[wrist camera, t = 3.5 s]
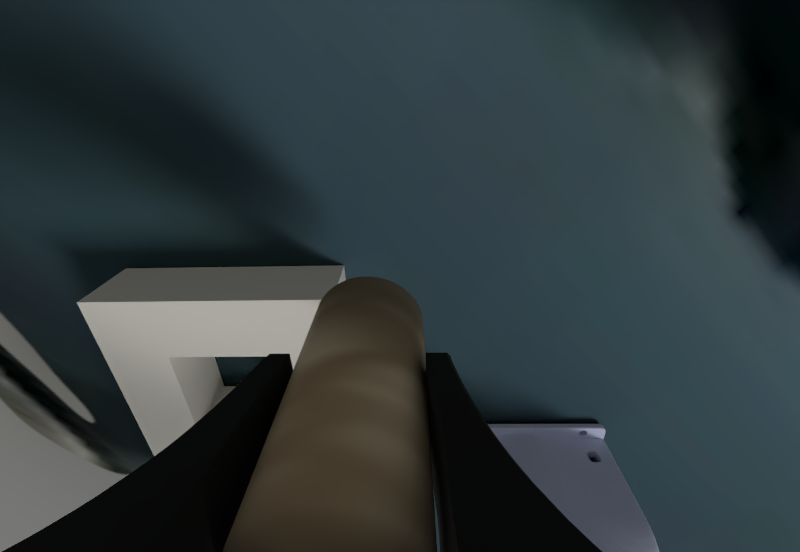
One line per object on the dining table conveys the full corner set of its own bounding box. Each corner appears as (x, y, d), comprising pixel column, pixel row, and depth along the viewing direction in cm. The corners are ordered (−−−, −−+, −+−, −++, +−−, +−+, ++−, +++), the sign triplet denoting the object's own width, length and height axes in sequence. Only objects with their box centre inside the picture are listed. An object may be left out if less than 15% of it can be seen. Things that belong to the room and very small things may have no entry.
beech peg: (421, 274, 13) (438, 506, 6) (423, 364, 15) (438, 620, 8) (308, 278, 13) (194, 507, 6) (323, 366, 15) (250, 620, 8)
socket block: (344, 265, 20) (332, 299, 17) (360, 421, 26) (354, 467, 23) (126, 268, 21) (76, 302, 18) (189, 421, 26) (159, 467, 23)
